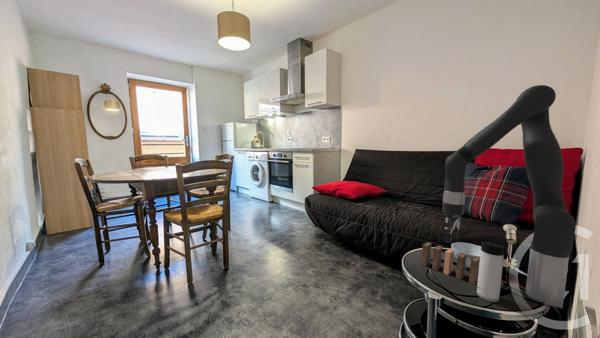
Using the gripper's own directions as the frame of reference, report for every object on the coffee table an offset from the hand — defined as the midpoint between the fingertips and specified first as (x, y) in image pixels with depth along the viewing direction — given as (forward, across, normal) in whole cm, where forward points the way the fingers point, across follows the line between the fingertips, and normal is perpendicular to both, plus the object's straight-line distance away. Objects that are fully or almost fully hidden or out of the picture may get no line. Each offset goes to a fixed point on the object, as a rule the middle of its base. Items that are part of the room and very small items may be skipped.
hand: (451, 239), depth 99 cm
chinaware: (+15, +15, -4) cm, 21 cm away
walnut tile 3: (+14, 0, -4) cm, 15 cm away
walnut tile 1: (+14, 0, +10) cm, 17 cm away
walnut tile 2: (+14, 0, +5) cm, 15 cm away
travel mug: (+15, -8, -14) cm, 22 cm away
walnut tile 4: (+15, 0, -8) cm, 17 cm away
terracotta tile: (+14, 0, 0) cm, 14 cm away
